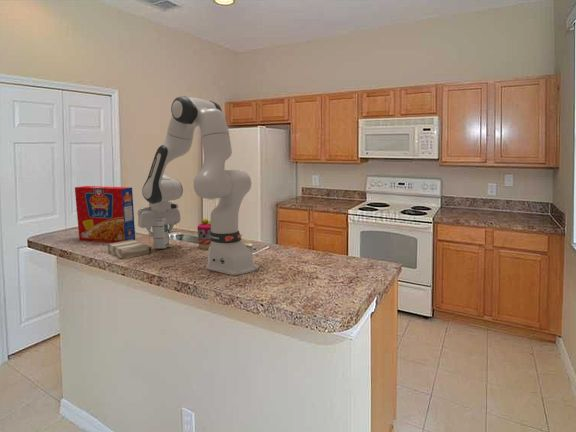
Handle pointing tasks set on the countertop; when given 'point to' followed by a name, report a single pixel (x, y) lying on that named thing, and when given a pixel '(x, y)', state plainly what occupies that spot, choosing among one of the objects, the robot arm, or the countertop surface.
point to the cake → (204, 234)
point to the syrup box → (160, 234)
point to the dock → (128, 249)
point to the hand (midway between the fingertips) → (160, 234)
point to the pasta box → (105, 214)
